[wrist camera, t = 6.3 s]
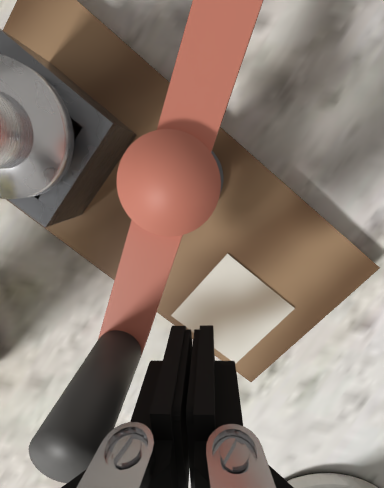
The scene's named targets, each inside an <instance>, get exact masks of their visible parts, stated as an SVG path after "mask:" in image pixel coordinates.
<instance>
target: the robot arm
mask: <svg viewBox="0 0 384 488" xmlns="http://www.w3.org/2000/svg"><path fill="white" fill-rule="evenodd" d="M189 468H190V478H191V488H377V487H376V486H375V485H373V484H371V483H368V482H366V481H364V480H362V479H359V478H356V477H353V476H349V475H343V474H336V473H317V474H309V475H304V476H300V477H296V478H293V479H291V480H289V481H286V480H285V479H284V478H282V477H281V476H280V475H279V474H278V473H277V472H276V471H275V470H274V469H272V468H271V467H270V466H269V465H268V463H267V460H266V457H265V454H264V451H263V448H262V445H261V443H260V441H259V439H258V438H257V437H256V436H255V434H254V433H253V432H252V431H250V430H249V429H247V428H246V427H244V426H243V421H242V413H241V405H240V397H239V389H238V382H237V374H236V366H235V361H215V355H214V329H213V325H200V328H199V329H194V338H193V347H192V333H191V329H186V326H172V327H171V331H170V335H169V339H168V343H167V347H166V351H165V355H164V359H163V361H151V362H150V363H149V366H148V369H147V372H146V375H145V378H144V381H143V384H142V387H141V391H140V394H139V397H138V400H137V403H136V406H135V409H134V412H133V415H132V418H131V422H128V423H124V424H121V425H119V426H118V427H116V428H114V429H113V430H112V431H111V432H109V433H108V434H107V436H106V437H105V438H104V440H103V441H102V443H101V444H100V446H99V448H98V450H97V452H96V453H95V455H94V457H93V459H92V461H91V462H90V464H89V466H88V468H87V469H86V470H85V471H83V472H82V473H80V474H79V475H78V476H76V477H75V478H74V479H72V480H71V481H70V482H68V483H67V484H66V485H64V486H63V487H62V488H188V482H189Z"/></svg>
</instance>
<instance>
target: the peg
mask: <svg viewBox="0 0 384 488" xmlns="http://www.w3.org/2000/svg"><path fill="white" fill-rule="evenodd" d="M82 128H83V127H82V126H80V125H79V124H78V123H77V122H76V121H74V120H73V119H72V118H70V115H69V112H68V110H67V107H66V105H65V103H64V102H63V100H62V98H61V97H60V95H59V94H58V92H57V91H56V89H55V88H54V87H53V86H52V85H51V84H50V83H49V82H48V81H47V80H46V79H45V78H44V77H43V76H41V75H40V74H39V73H37V72H36V71H34V70H33V69H31V68H29V67H27V66H26V65H24V64H22V63H20V62H18V61H17V60H15V59H13V58H10V57H8V56H5V55H1V54H0V198H2V199H20V198H27V197H33V196H37V195H40V194H43V193H45V192H47V191H49V190H51V189H52V188H53V187H55V186H56V185H57V184H58V183H59V182H60V181H61V179H62V178H63V177H64V175H65V174H66V172H67V170H68V168H69V166H70V163H71V160H72V156H73V150H74V141H75V139H76V137H77V136H78V134H79V133H80V131H81V129H82Z"/></svg>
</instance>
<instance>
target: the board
mask: <svg viewBox="0 0 384 488" xmlns="http://www.w3.org/2000/svg"><path fill="white" fill-rule="evenodd" d="M3 31H4V32H6V33H7V34H9V35H10V36H12V37H13V38H15V39H16V40H18V41H19V42H21V43H22V44H24V45H25V46H27V47H28V48H30V49H31V50H33V51H34V52H36V53H37V54H39V55H40V56H41V57H43V58H44V59H46V60H47V61H49V62H50V63H51V64H53V65H54V66H55V67H56V68H57V69H59V70H60V71H61V72H62V73H63V74H65V75H66V76H67V77H68V78H69V79H70V80H72V81H73V82H74V83H75V84H76V85H78V86H79V87H80V88H81V89H82V90H84V91H85V92H86V93H87V94H88V95H90V96H91V97H92V98H93V99H94V100H96V101H97V102H98V103H99V104H100V105H102V106H103V107H104V108H105V109H106V110H108V111H109V112H110V113H111V114H112V115H114V116H115V117H116V118H117V119H118V120H119V121H121V122H122V123H123V124H124V125H125V126H127V127H128V128H129V129H130V130H131V131H133V132H134V133H135V134H136V135H137V136H136V137H135V139H134V140H133V141H132V143H133V142H134V141H135V140H137V139H138V138H139V137H141V136H142V135H144V134H147V133H149V132H152V131H155V130H157V127H158V124H159V120H160V116H161V113H162V109H163V106H164V102H165V98H166V95H167V91H168V88H169V84H170V82H169V81H168V80H166V79H165V78H164V77H163V76H162V75H161V74H160V73H158V72H157V71H156V70H155V69H154V68H153V67H152V66H151V65H149V64H148V63H147V62H146V61H145V60H144V59H143V58H141V57H140V56H139V55H138V54H137V53H136V52H135V51H134V50H132V49H131V48H130V47H129V46H128V45H127V44H126V43H124V42H123V41H122V40H121V39H120V38H119V37H118V36H117V35H115V34H114V33H113V32H112V31H111V30H110V29H109V28H107V27H106V26H105V25H104V24H103V23H102V22H101V21H100V20H98V19H97V18H96V17H95V16H94V15H93V14H92V13H90V12H89V11H88V10H87V9H86V8H85V7H84V6H83V5H81V4H80V3H79V2H78V1H77V0H17V2H16V4H15V6H14V8H13V10H12V12H11V14H10V17H9V19H8V21H7V23H6V25H5V27H4V29H3ZM70 118H71V117H70ZM132 143H131V144H132ZM131 144H130V145H131ZM212 151H213V152H214V153H215V155H216V156H217V158H218V159H219V161H220V163H221V166H222V170H223V186H222V190H221V193H220V196H219V200H218V203H217V205H216V208H215V210H214V211H213V213H212V215H211V216H210V217H209V219H208V220H207V221H206V222H205V223H204V224H203V225H201V226H200V227H199V228H197V229H196V230H194V231H192V232H190V233H187V234H184V235H183V236H182V239H181V242H180V245H179V248H178V251H177V254H176V257H175V260H174V263H173V266H172V269H171V271H170V274H169V277H168V280H167V283H166V286H165V289H164V292H163V295H162V298H161V301H160V304H159V306H158V309H157V312H158V313H159V314H160V315H162V316H163V317H164V318H166V319H167V320H168V321H170V322H171V323H172V324H174V325H175V326H186V329H191V333H192V339H193V338H194V329H199V328H200V325H213V329H214V355H215V356H216V357H218V358H219V359H220V360H222V361H235V366H236V371H237V372H238V373H239V374H241V375H242V376H243V377H245V378H246V379H247V380H249V381H250V382H252V381H253V380H254V379H255V378H257V377H258V376H259V375H260V374H261V373H262V372H263V371H264V370H266V369H267V368H268V367H269V366H270V365H271V364H272V363H273V362H275V361H276V360H277V359H278V358H279V357H280V356H281V355H282V354H284V353H285V352H286V351H287V350H288V349H289V348H290V347H291V346H293V345H294V344H295V343H296V342H297V341H298V340H299V339H300V338H302V337H303V336H304V335H305V334H306V333H307V332H308V331H309V330H311V329H312V328H313V327H314V326H315V325H316V324H317V323H318V322H320V321H321V320H322V319H323V318H324V317H325V316H326V315H328V314H329V313H330V312H331V311H332V310H333V309H334V308H335V307H337V306H338V305H339V304H340V303H341V302H342V301H343V300H344V299H346V298H347V297H348V296H349V295H350V294H351V293H352V292H353V291H355V290H356V289H357V288H358V287H359V286H360V285H361V284H362V283H364V282H365V281H366V280H367V279H368V278H369V277H370V276H371V275H373V274H374V273H375V272H376V271H377V270H378V269H379V268H380V267H378V266H377V265H376V264H375V263H374V262H373V261H372V260H370V259H369V258H368V257H367V256H366V255H365V254H364V253H363V252H361V251H360V250H359V249H358V248H357V247H356V246H355V245H353V244H352V243H351V242H350V241H349V240H348V239H347V238H346V237H344V236H343V235H342V234H341V233H340V232H339V231H338V230H336V229H335V228H334V227H333V226H332V225H331V224H330V223H329V222H327V221H326V220H325V219H324V218H323V217H322V216H321V215H319V214H318V213H317V212H316V211H315V210H314V209H313V208H312V207H310V206H309V205H308V204H307V203H306V202H305V201H304V200H302V199H301V198H300V197H299V196H298V195H297V194H296V193H295V192H293V191H292V190H291V189H290V188H289V187H288V186H287V185H285V184H284V183H283V182H282V181H281V180H280V179H279V178H278V177H276V176H275V175H274V174H273V173H272V172H271V171H270V170H268V169H267V168H266V167H265V166H264V165H263V164H262V163H261V162H259V161H258V160H257V159H256V158H255V157H254V156H253V155H251V154H250V153H249V152H248V151H247V150H246V149H245V148H243V147H242V146H241V145H240V144H239V143H238V142H237V141H236V140H234V139H233V138H232V137H231V136H230V135H229V134H228V133H226V132H225V131H224V130H223V129H222V128H221V127H220V128H219V131H218V134H217V137H216V140H215V143H214V146H213V149H212ZM122 157H123V156H122ZM122 157H121V159H122ZM121 159H120V160H119V162H118V163H117V165H116V166H115V168H114V169H113V171H112V172H111V173H110V175H109V176H108V178H107V179H106V181H105V182H104V184H103V185H102V187H101V188H100V190H99V191H98V192H97V194H96V195H95V197H94V198H93V200H92V201H91V203H90V204H89V206H88V207H87V208H86V210H85V211H84V213H83V214H82V215H80V216H77V217H75V218H72V219H69V220H66V221H63V222H60V223H57V224H54V225H51V226H48V227H44V226H43V227H44V228H45V229H47V230H48V231H49V232H51V233H52V234H53V235H55V236H56V237H57V238H59V239H60V240H61V241H63V242H64V243H65V244H67V245H68V246H69V247H71V248H72V249H73V250H75V251H76V252H77V253H79V254H80V255H81V256H83V257H84V258H85V259H87V260H88V261H89V262H91V263H92V264H93V265H95V266H96V267H97V268H99V269H100V270H101V271H103V272H104V273H105V274H107V275H108V276H109V277H111V278H112V279H113V280H115V277H116V274H117V270H118V267H119V263H120V260H121V256H122V252H123V249H124V245H125V242H126V238H127V234H128V231H129V227H130V224H131V220H132V219H131V218H130V217H129V216H128V215H127V213H126V212H125V210H124V208H123V206H122V204H121V202H120V199H119V196H118V191H117V171H118V167H119V164H120V161H121ZM6 200H8V199H6ZM8 201H9V200H8ZM9 202H10V201H9ZM10 203H12V202H10ZM12 204H13V203H12ZM13 205H14V204H13ZM14 206H16V205H14ZM16 207H17V206H16ZM17 208H18V207H17ZM18 209H20V208H18ZM20 210H21V209H20ZM21 211H22V210H21ZM22 212H24V211H22ZM24 213H25V212H24ZM25 214H26V213H25ZM26 215H28V214H26ZM28 216H29V215H28ZM29 217H30V216H29ZM30 218H32V217H30ZM32 219H33V218H32ZM33 220H34V219H33ZM35 221H36V220H35ZM36 222H37V221H36ZM37 223H38V222H37ZM39 224H40V223H39ZM40 225H41V224H40ZM41 226H42V225H41Z"/></svg>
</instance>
